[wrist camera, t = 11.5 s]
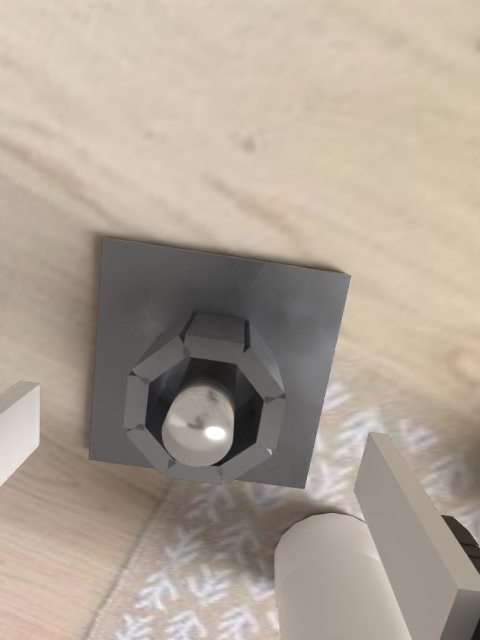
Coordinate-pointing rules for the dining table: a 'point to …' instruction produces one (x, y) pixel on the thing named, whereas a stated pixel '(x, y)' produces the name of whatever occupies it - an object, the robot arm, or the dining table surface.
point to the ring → (249, 420)
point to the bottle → (334, 583)
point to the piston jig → (208, 375)
